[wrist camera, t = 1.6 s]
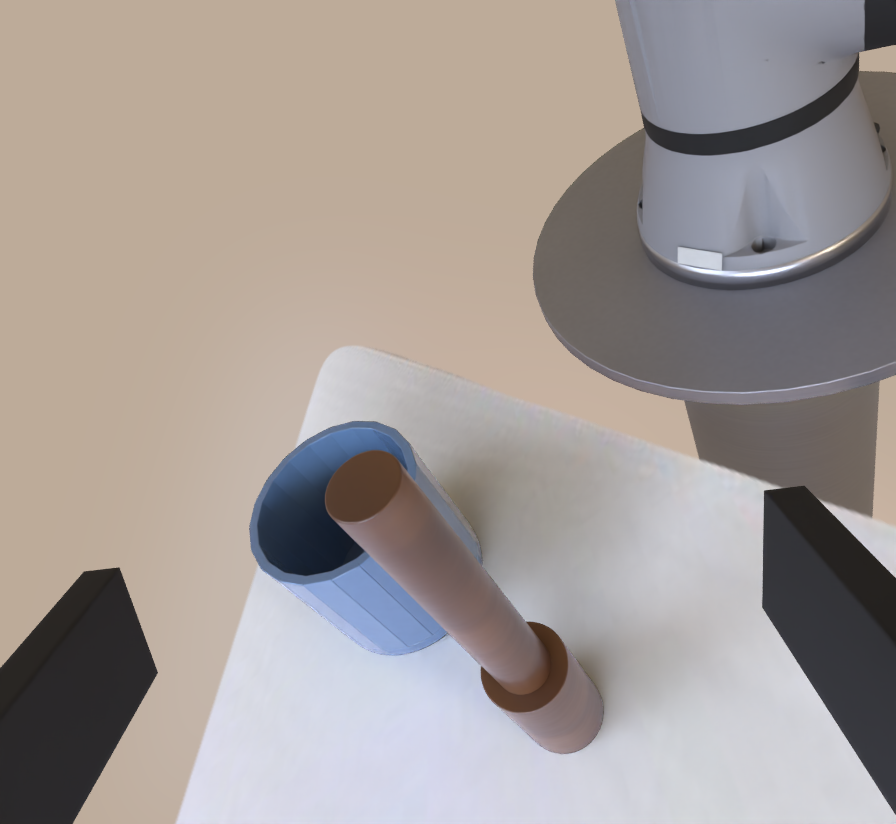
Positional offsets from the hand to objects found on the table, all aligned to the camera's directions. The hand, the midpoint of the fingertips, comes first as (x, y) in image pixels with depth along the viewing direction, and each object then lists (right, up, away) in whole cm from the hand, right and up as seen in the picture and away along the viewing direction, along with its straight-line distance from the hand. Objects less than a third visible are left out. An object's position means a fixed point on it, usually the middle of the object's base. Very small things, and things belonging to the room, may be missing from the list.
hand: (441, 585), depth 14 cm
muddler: (+6, -10, +19) cm, 22 cm away
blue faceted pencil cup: (-2, -6, +27) cm, 28 cm away
